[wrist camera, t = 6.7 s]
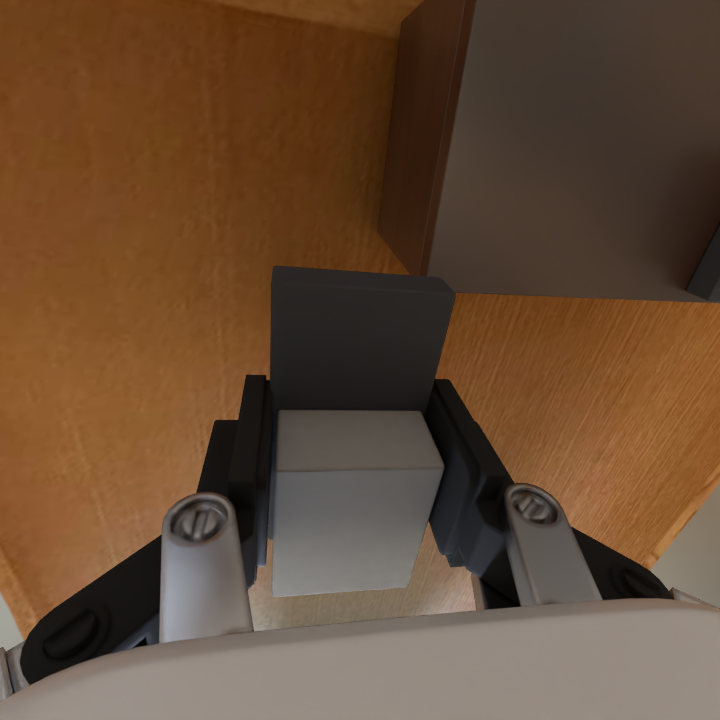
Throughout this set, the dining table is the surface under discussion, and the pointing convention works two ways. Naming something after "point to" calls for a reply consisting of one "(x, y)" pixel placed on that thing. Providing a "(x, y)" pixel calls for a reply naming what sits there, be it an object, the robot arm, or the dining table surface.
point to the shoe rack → (556, 146)
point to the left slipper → (352, 426)
